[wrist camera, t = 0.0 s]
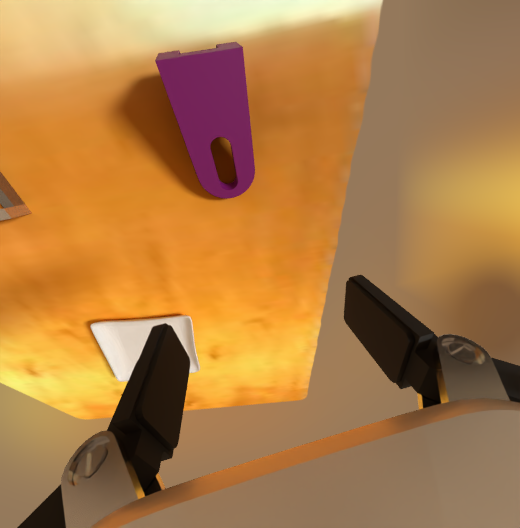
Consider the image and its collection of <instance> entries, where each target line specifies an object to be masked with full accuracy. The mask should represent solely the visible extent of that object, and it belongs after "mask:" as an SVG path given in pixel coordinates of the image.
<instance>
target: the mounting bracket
mask: <svg viewBox="0 0 520 528" xmlns="http://www.w3.org/2000/svg"><path fill="white" fill-rule="evenodd" d="M155 61H156V64H157V67H158V70H159V72H160V75H161V78H162V81H163V83H164V86H165V89H166V92H167V94H168V97H169V100H170V102H171V105H172V108H173V111H174V113H175V116H176V119H177V122H178V124H179V127H180V130H181V133H182V135H183V138H184V141H185V144H186V146H187V149H188V152H189V155H190V157H191V160H192V163H193V166H194V168H195V171H196V174H197V176H198V179H199V182H200V183H201V185H202V186H203V188H204V189H205V190H206V191H207V192H209V193H210V194H212V195H214V196H216V197H220V198H233V197H236V196H239V195H241V194H242V193H244V192H245V191H246V190H247V189H248V188H249V187H250V185H251V183H252V181H253V179H254V174H255V166H254V156H253V146H252V136H251V126H250V116H249V107H248V97H247V87H246V77H245V67H244V57H243V47H242V46H240V45H239V44H238V43H237V42H231V43H224V44H218V45H216V48H214V49H208V50H201V51H195V52H188V53H182V54H180V52H179V50H178V51H172V52H165V53H159V54H158V56H157V58H156V60H155ZM217 137H224V138H226V139H228V140H229V142H230V144H231V150H232V155H233V160H234V166H235V171H236V178H235V180H234V181H233V182H232V183H229V184H225V183H222V182H221V181H220V180H219V178H218V174H217V171H216V167H215V163H214V159H213V156H212V152H211V148H210V145H211V142H212V141H213V140H214V139H215V138H217Z"/></svg>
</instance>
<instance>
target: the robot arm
mask: <svg viewBox="0 0 520 528" xmlns="http://www.w3.org/2000/svg"><path fill="white" fill-rule="evenodd" d="M344 320H345V322H346V324H347V325H348V326H349V328H350V329H351V330H352V332H353V333H354V334H355V335H356V337H357V338H358V339H359V341H360V342H361V343H362V344H363V346H364V347H365V348H366V350H367V351H368V352H369V354H370V355H371V356H372V357H373V359H374V360H375V361H376V363H377V364H378V365H379V366H380V368H381V369H382V370H383V372H384V373H385V374H386V375H387V377H388V378H389V379H390V380H391V381H392V382H393V383H396V384H397V385H398V386H399V388H400V389H403V388H407V387H410V386H412V387H413V388H414V390H415V391H416V392H417V395H418V406H419V410H416V411H413V412H409V413H405V414H402V415H399V416H395V417H392V418H389V419H386V420H382V421H379V422H376V423H372V424H369V425H366V426H363V427H359V428H356V429H353V430H349V431H346V432H343V433H340V434H336V435H333V436H330V437H327V438H323V439H320V440H317V441H314V442H311V443H307V444H304V445H301V446H298V447H294V448H291V449H288V450H285V451H282V452H278V453H275V454H272V455H269V456H266V457H262V458H259V459H256V460H253V461H250V462H247V463H243V464H241V465H238V466H234V467H231V468H228V469H225V470H221V471H218V472H215V473H212V474H209V475H206V476H202V477H199V478H197V479H193V480H191V481H188V482H185V483H182V484H179V485H176V486H173V487H170V488H167V489H166V488H165V486H164V484H163V482H162V480H161V478H160V476H159V474H158V472H159V468H160V463H161V461H164V460H167V459H170V458H172V456H173V450H174V448H176V447H177V444H178V440H179V434H180V428H181V421H182V415H183V409H184V402H185V396H186V390H187V383H188V377H189V370H190V358H189V356H188V354H187V352H186V351H185V349H184V347H183V345H182V343H181V342H180V340H179V338H178V336H177V334H176V333H175V331H174V329H173V327H172V326H171V325H168V324H166V323H164V324H160V325H156V326H153V327H152V329H151V331H150V334H149V336H148V338H147V341H146V343H145V346H144V348H143V350H142V353H141V355H140V357H139V359H138V361H137V362H136V364H135V367H134V369H133V371H132V374H131V376H130V378H129V381H128V383H127V385H126V388H125V390H124V392H123V395H122V397H121V399H120V401H119V404H118V406H117V408H116V411H115V413H114V415H113V418H112V420H111V422H110V425H109V427H108V429H107V431H101V432H99V433H97V434H95V435H93V436H92V437H91V438H89V439H88V440H86V441H85V442H84V443H83V444H82V445H81V446H80V447H79V448H78V449H77V451H76V452H75V453H74V454H73V456H72V457H71V458H70V460H69V462H68V464H67V465H66V467H65V469H64V472H63V475H62V480H61V485H60V486H59V487H58V488H57V489H56V490H55V491H54V492H53V493H52V494H51V495H50V496H49V497H48V498H47V499H46V500H45V501H44V502H43V503H42V504H41V505H40V506H39V507H38V508H37V509H36V510H35V511H34V512H33V513H32V514H31V515H30V516H29V517H28V518H27V519H26V520H25V521H24V522H23V523H22V524H21V525H20V526H19V527H18V528H520V366H518V365H514V364H511V363H508V362H504V361H501V360H498V359H494V358H491V357H490V355H489V354H488V352H487V351H486V350H485V349H484V348H483V347H481V346H480V345H478V344H476V343H475V342H474V341H472V340H469V339H467V338H465V337H462V336H458V335H452V334H447V335H442V336H439V337H437V336H436V335H435V334H434V332H432V331H431V330H430V329H429V328H427V327H426V326H425V325H424V324H422V323H421V322H420V321H419V320H417V319H416V318H415V317H414V316H412V315H411V314H410V313H409V312H407V311H406V310H405V309H404V308H402V307H401V306H400V305H399V304H397V303H396V302H395V301H393V299H391V298H390V297H389V296H388V295H386V294H385V293H384V292H382V291H381V290H380V289H379V288H378V287H376V286H375V285H374V284H372V283H371V282H370V281H369V280H367V279H366V278H365V277H364V276H362V275H358V276H354V277H350V278H349V281H347V282H346V295H345V308H344Z"/></svg>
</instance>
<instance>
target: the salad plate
mask: <svg viewBox="0 0 520 528" xmlns="http://www.w3.org/2000/svg"><path fill="white" fill-rule="evenodd" d="M164 323H166V324H168V325H171V326H172V327H173V329H174V331H175V333H176V334H177V336H178V338H179V340H180V342H181V343H182V345H183V347H184V349H185V351H186V352H187V354H188V356H189V358H190V370H189V373H193V372H197V371H199V370H200V365H199V361H198V357H197V353H196V348H195V342H194V334H193V325H192V319H191V317H190V316H187V315H178V316H170V317H160V318H148V319H133V320H112V321H100V322H96V323H93V324H91V330H92V332H93V334H94V336H95V338H96V340H97V342H98V344H99V346H100V348H101V349H102V351H103V353H104V355H105V357H106V359H107V361H108V363H109V364H110V366H111V369H112V371H113V373H114V375H115V377H116V378H117V380H118V381H121V382H122V381H129V378H130V376H131V374H132V371H133V369H134V367H135V364H136V362H137V361H138V359H139V357H140V355H141V353H142V350H143V348H144V346H145V343H146V341H147V338H148V336H149V334H150V331H151V329H152V327H153V326H156V325H160V324H164Z"/></svg>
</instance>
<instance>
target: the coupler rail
mask: <svg viewBox="0 0 520 528" xmlns="http://www.w3.org/2000/svg"><path fill="white" fill-rule="evenodd" d="M0 204H1V205H2V206H3V207H4V208H2V209H0V221H1V220H6V219H11V218H15V217H19V216H23V215H26V214H30V213H31V212H30V210H29V209H28V208H27V206H26V205H25V204H24V202H23V201H22V200H21V198H20V197H19V196H18V195H17V193H16V192H15V191H14V189H13V188H12V187H11V185H10V184H9V183H8V181H7V180H6V179H5V177H4V176H3V175H2V173H1V172H0Z"/></svg>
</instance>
